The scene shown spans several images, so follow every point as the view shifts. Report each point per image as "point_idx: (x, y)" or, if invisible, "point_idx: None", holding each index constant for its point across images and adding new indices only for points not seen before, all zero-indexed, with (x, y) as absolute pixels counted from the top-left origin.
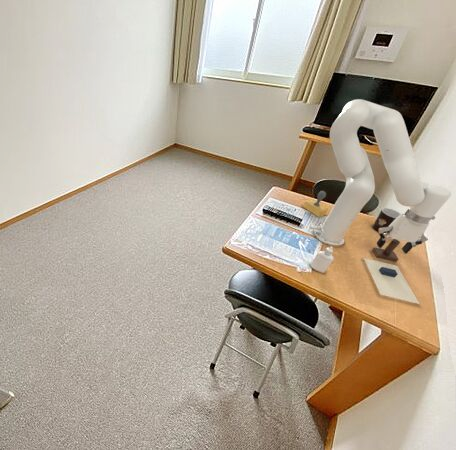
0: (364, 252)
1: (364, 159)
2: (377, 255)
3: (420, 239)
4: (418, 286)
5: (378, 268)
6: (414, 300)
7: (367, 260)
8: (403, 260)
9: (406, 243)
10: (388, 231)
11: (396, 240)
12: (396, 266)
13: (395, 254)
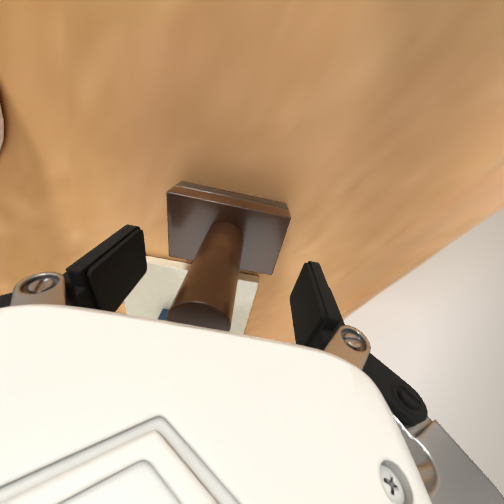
0: (141, 195)
1: None
2: (171, 253)
3: (411, 446)
4: (281, 336)
5: (164, 301)
6: None
7: None
8: (341, 228)
9: (317, 307)
10: (24, 328)
11: (203, 319)
12: (251, 286)
13: (279, 243)
